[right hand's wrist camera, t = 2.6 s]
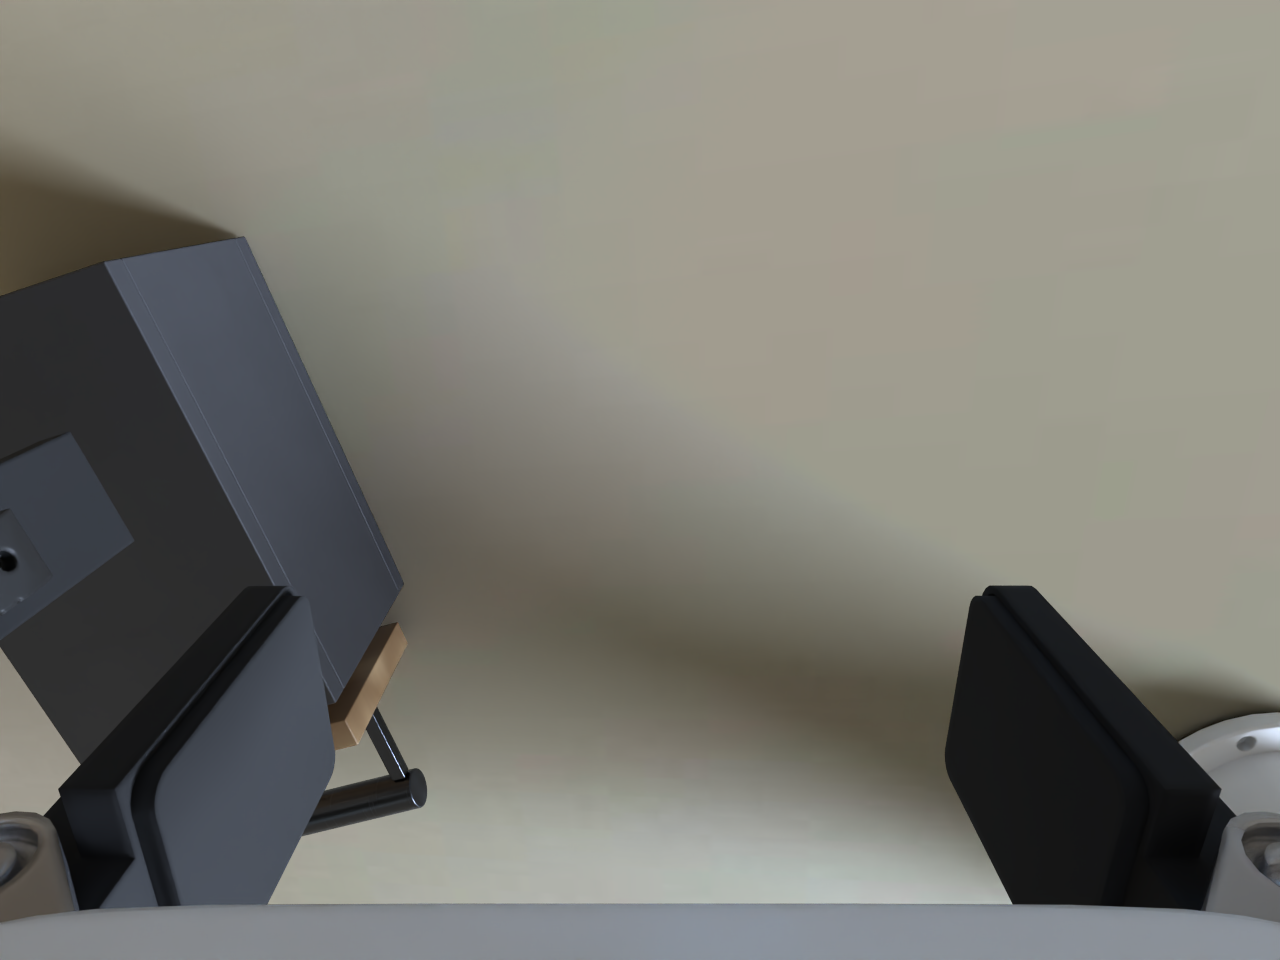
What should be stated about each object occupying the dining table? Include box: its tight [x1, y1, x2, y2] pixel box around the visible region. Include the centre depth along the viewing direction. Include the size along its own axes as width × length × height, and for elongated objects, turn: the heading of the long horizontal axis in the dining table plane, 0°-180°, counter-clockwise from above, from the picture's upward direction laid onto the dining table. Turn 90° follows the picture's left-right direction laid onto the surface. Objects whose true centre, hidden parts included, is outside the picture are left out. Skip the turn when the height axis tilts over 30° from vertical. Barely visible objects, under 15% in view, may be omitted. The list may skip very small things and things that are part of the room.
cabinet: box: [0, 237, 404, 764], centre depth 31 cm, size 16×10×9 cm, turn 17°
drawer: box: [302, 622, 427, 836], centre depth 33 cm, size 20×9×7 cm, turn 17°
